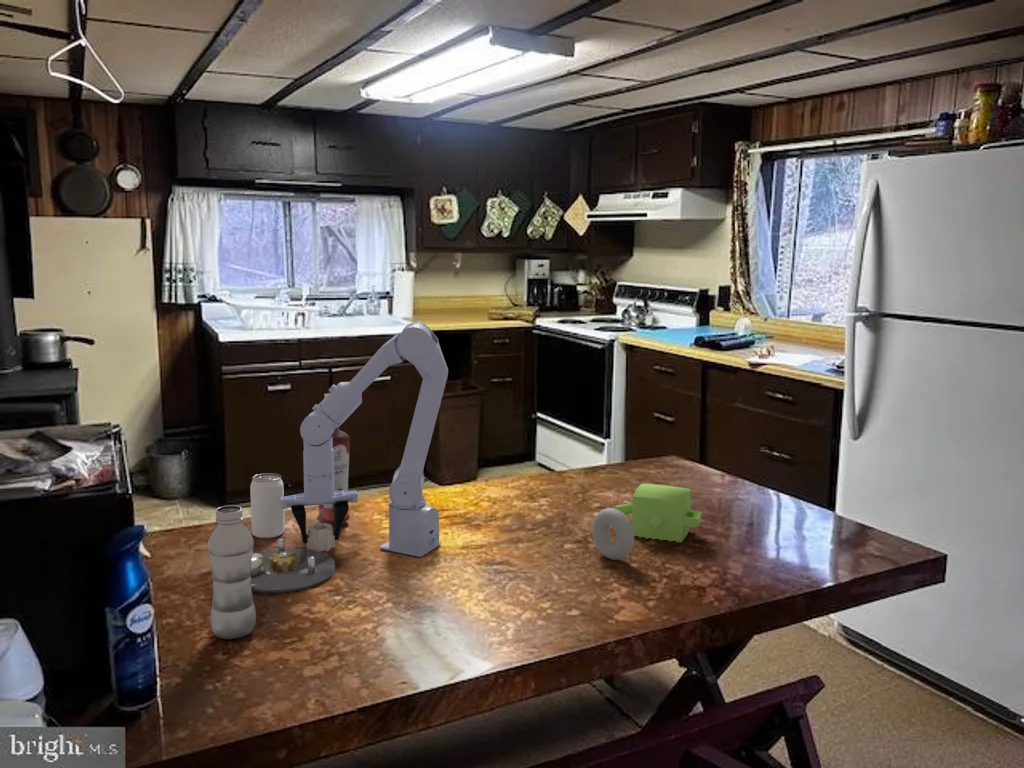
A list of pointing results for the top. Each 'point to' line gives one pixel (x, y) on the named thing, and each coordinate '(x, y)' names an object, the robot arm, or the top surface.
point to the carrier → (289, 569)
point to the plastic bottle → (231, 575)
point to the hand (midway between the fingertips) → (320, 539)
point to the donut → (622, 531)
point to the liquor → (337, 473)
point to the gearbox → (661, 512)
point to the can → (267, 505)
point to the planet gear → (320, 537)
